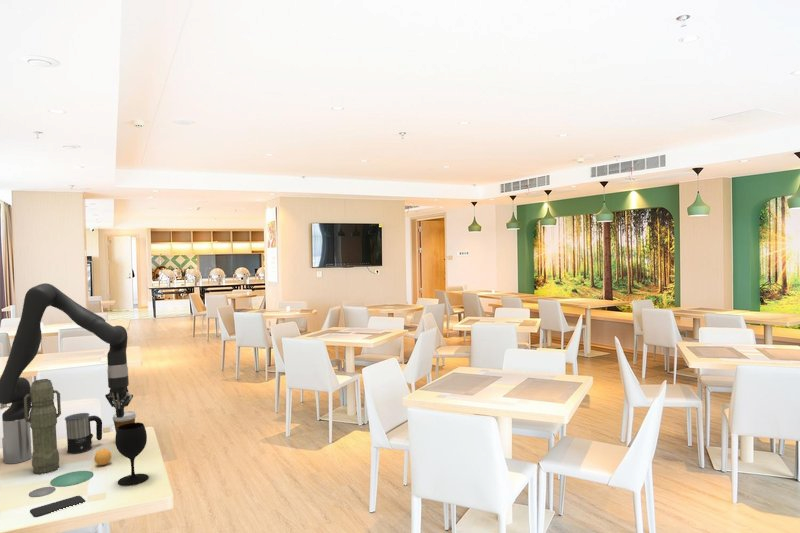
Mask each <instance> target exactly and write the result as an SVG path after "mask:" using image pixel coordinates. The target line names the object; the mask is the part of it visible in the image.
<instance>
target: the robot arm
mask: <svg viewBox="0 0 800 533" xmlns="http://www.w3.org/2000/svg"><path fill="white" fill-rule="evenodd" d="M48 307H53V308H54V309H55V308H56V309H58V310H59V311H61V312H63V313H64V314H65V315H67V316H68V317H69V318H70V319H71V321H72V322H74V324H76V325H77V326H79V327H80V328H82V329H85V330H86V331H88V332H90V333H92V334H94V335H95V336H96V337H97V338H99V339H100V340H101V341H103V342H104V343H106V344H109V350H108V352H107V354H106V357H107V370H106V371H107V385H108V386H107V387H108V389H109V392H108V393H107V394H105V395H104V396H105V398H106V400H107V402H108V404H109V405H110V406H111V408H114V409H115V414H116V416H117V418H121V417H123V416H124V412H125V408H126V407H128V406H129V405H130V403H131V401H132V399H133V398H134V395H133V394H130V392H129V389H128V387H129V384H130V383H129V366H128V359H127V356H128V355H127V348H128V332H127V329H126V328H125V327H124V326H122V325H115V326H113V325H111V324H110V323H108V322H107V321H106V319H105V318H104V317H103V316H101V315H98V314H97V313H95V312H94V311H91V310H89V309H88V308H86V307H84V306H82V305H81V304H80V303H78V302H76V301H75V300H74V299H72V298H71V297H69V296H68V295H66V294H65V293H64V292H62V291H61V289H58V288H57V287H56V286H55V285H53V284H50V283H40V284H37V285H34V286H33V287H31V288H29V289H28V290H27V292H26V293H25V295H24V299H23V305H22V311H21V316H20V320H19V322H18V326H17V328H16V333H15V336H14V338H13V341H12V345H11V348H10V350H9V355H8V358H7V361H6V363H5V367H4V370H3V371H2V373H1V377H0V404H1V405H7V404H9V405H10V406H9V407H8V408H7V409H6V410H5V411H4V412H3V413H2V414H1V420H2V434H3V435H2V436H3V437H2V438H1V441H2V458H3V460H2V461H3V462H4V463H5V464H9V465H10V464H18V463H22V462H26V461H28V460H31V459H32V454H33V451H32V432H31V427H30V423H29V422H26V420H25V410H24V397H25V396H26V395H27V394H29V393H30V388H31V384H30V382H29V380H28V379H27V378H25V377H21V375H22V374H23V372H24V371H25V369H26V368H27V367H28V366H29V365H30V364H31V362H32V361H33V360H34V359H35V358H36V356H37V354H38V351H39V348H40V346H41V342H42V340H43V338H42V336H43V335H42V330H41V329H42V328H41V327H42V326H41V322H42V319H43V317H44V313H45V312H46V309H47V308H48ZM31 405H32V403H31V397H28V398H27V410H28V419H29V418H30V411H31Z"/></svg>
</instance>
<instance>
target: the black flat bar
mask: <svg viewBox="0 0 800 533" xmlns="http://www.w3.org/2000/svg"><path fill="white" fill-rule="evenodd" d="M83 502H84V503H86V500H85V498H83V496H81V495H76V496H72V497H67V498H64V499H61V500H57V501H54V502H51V503H47V504H44V505H41V506H38V507H33V508H31V509H30V510H29V513H30V514H31V515H32V516H33V517H34V518H39V517H42V516H45V515H48V514H52V513H51V512H53V513H55V512H54V511H56V512H58V511H57V510H59V509H62V510H64V509H63V508H65V509H67V508H66V507H69V506H72V507H74V506H73V505H75V506H78V505H80V504H79V503H81V504H84V503H83ZM77 504H78V505H77ZM69 508H70V507H69ZM59 511H60V510H59Z"/></svg>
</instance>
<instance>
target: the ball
mask: <svg viewBox="0 0 800 533" xmlns="http://www.w3.org/2000/svg"><path fill="white" fill-rule="evenodd" d="M93 459H94V462H95V463H96V464H97V465H99V466H104V465H107V464H108V463H110V462H111V459H112V453H111V451H110V450H109V449H106V448H103V449H99V450H98V451H97V452H96V453H95V454H94V458H93Z"/></svg>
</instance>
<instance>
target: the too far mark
mask: <svg viewBox="0 0 800 533" xmlns="http://www.w3.org/2000/svg"><path fill="white" fill-rule="evenodd" d="M56 488H57V487H56V486H45V487H40V488H36V489H33V490H32V491H30V492H29V493H28V496H29V497H31V498H40V497H44V496H48V495H50V494H52V493H54V492H55V491H56Z"/></svg>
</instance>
